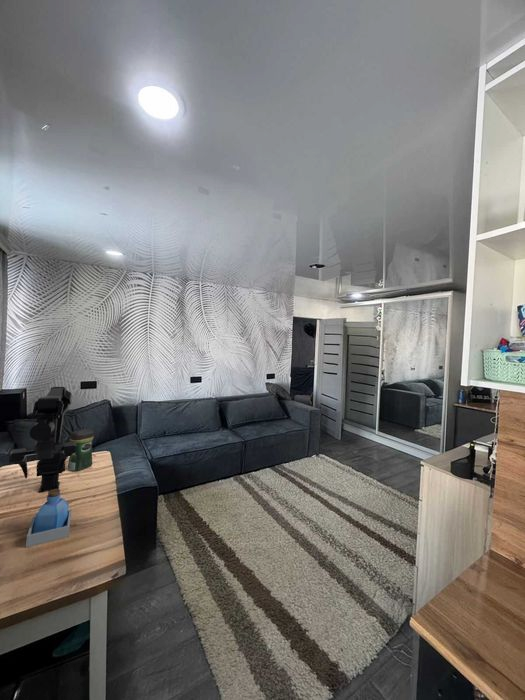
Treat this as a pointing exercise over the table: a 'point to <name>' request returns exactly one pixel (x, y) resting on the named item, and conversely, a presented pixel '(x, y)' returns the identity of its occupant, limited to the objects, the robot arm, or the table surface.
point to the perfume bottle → (52, 513)
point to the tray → (47, 533)
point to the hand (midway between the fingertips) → (43, 475)
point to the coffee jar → (81, 450)
